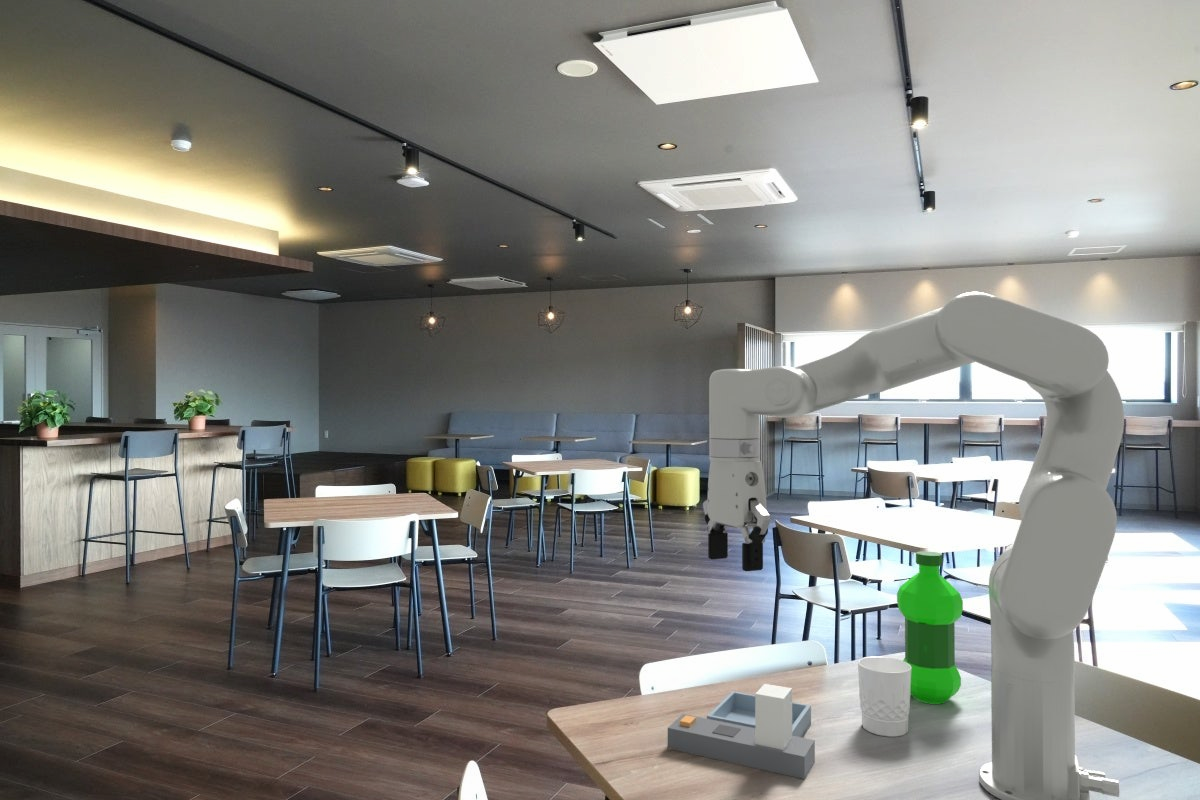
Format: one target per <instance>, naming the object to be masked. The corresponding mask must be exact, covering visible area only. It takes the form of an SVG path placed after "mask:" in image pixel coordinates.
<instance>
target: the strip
mask: <svg viewBox="0 0 1200 800" xmlns="http://www.w3.org/2000/svg"><path fill="white" fill-rule="evenodd" d="M815 744H816V743H815V739H811V738H806V737H797V736H792V739H791V740H790V742H789V743H788V745H787V746H786V748H785V749H784V750H781V749H776V748H772V747H767V746H762V745H757V744H755V728H751V727H746V726H741V725H736V724H731V723H726V722H721V721H716V720H711V719H707V717H701V716H694V715H691V714H686V713H682V714H681V715H680V716H679V717H677V719H676V720H674V721H673V722H672V723H671V724H670V725H669V726H668V727H667V749H668V748H671V749H670V750H673V749H675V750H674V751H678V752H681V753H682V752H683V753H686V754H687V753H688V754H692V755H695V756H700V757H705V758H709V759H713V760H718V761H721V762H727V763H732V764H736V765H740V766H745V767H747V768H748V767H749V768H753V769H759V770H764V771H766V772H771V773H776V774H781V775H784V776H789V777H793V778H797V779H803V780H805V779H807V778H806V777H807V776H808V775H809V773H810V771H811V769H812V767H813V765H814V764H815V762H816V755H815V754H816V753H815V750H816V745H815Z"/></svg>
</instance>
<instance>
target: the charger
mask: <svg viewBox="0 0 1200 800" xmlns="http://www.w3.org/2000/svg"><path fill="white" fill-rule="evenodd" d="M754 695H755V744H757V745H762V746H767V747H772V748H776V749H781V750H784V749H785V748H786V746H787V745H788V743H789V742H790V740H791V739H792V702H793V688H792V687H788V686H781V685H774V684H771V683H770V684H769V683H764V684H763V685H762V686H761V687H760V688H759V689H758V690H757V692H755V694H754Z"/></svg>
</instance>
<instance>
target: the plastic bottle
mask: <svg viewBox="0 0 1200 800" xmlns="http://www.w3.org/2000/svg"><path fill="white" fill-rule="evenodd" d="M943 561H944V560H943V554H942V553H940V552H935V551H926V550H925V551H924V550H923V551H917V552H915V564H917V565H918V573H916V574H914V575H913V576H912V577H911V578H909V579H907V581H905V582H904V583H903V584H902V585H900V586H899V588H898V590H897V593H896V603H897V607H898V610H899V611H900V612H901V614H902V615H903V616H904V658H903V660H902V661H904V662H906V663H908V664H910V665H911V667H912V669H911V694H910V696H912V697H913V698H914V697H915V698H914V699H915V700H916V699H917V700H916V701H918V700H919V702H921V701H922V702H921V703H923V702H926V703H925V704H929V703H931V704H930V705H942V704H941V703H943V704H945V703H946V702H947V701H948V700H950V699H951V698H952V697H953V696H956V694H957V693H958V692H959V690H960V688H961V686H962V677H961V675H960V672H959V670H958V668H957V665H956V660H955V659H956V658H955V656H956V654H955V651H956V649H955V648H956V647H955V646H956V645H955V643H956V642H955V626H956V625H955V622H957V621H958V620H959V619H960V618H961V617H962V615H963V609H964V605H963V604H964V603H963V599H962V596H961V593H960V592H959V591H958V590H957V589H956V588H955V587H954V586H953V585H952V584H951V583H950V582H949V581H947V580H946V578H945V577H943V576H942V575H941V574H940V567H941V566H943ZM945 701H946V702H945ZM944 702H945V703H944Z"/></svg>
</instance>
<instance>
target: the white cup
mask: <svg viewBox="0 0 1200 800" xmlns="http://www.w3.org/2000/svg"><path fill="white" fill-rule="evenodd" d="M857 669H858V672H857V673H858V688H859V690H858V691H859V692H858V693H859V701H860V702H859V703H860V709H861V723H862V724H861V725H862V728H863V729H865V731H867V732H869V733H872V734H874V735H876V736H881V737H893V738H894V737H901V736H904V735H906V734H907V733H908V732H909V714H910V704H911V669H912V667H911V665H910V664H908V663H906V662H904V661H903V660H901V659H898V658H894V657H887V656H875V655H874V656H866V657H865V656H864V657H862V658H859V659H858V660H857Z"/></svg>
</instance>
